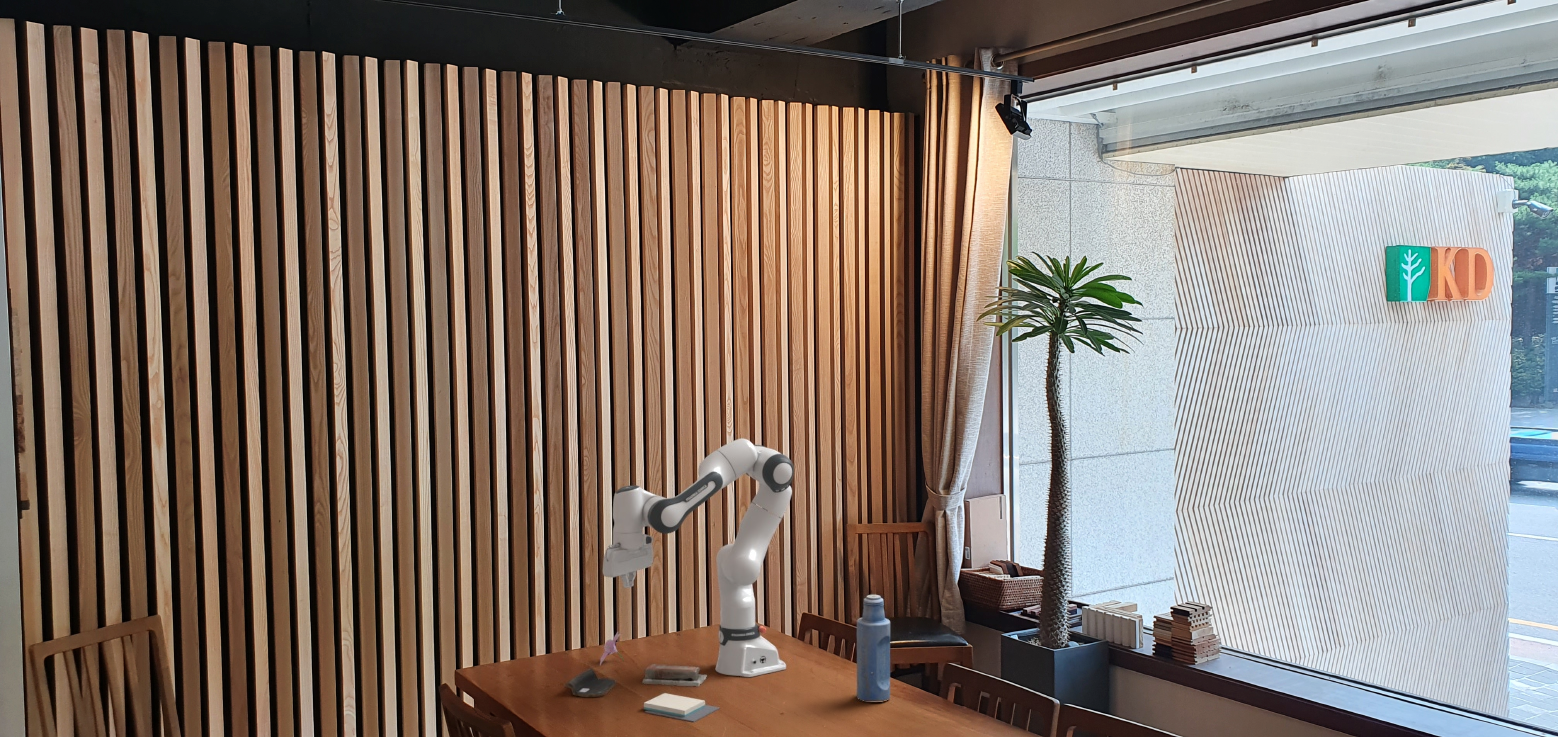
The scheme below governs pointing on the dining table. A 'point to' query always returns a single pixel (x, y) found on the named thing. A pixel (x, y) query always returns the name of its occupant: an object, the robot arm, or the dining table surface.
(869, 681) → the bottle
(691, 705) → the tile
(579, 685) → the pottery fragment
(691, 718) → the mat
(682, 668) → the packaged product
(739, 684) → the dining table surface
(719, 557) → the robot arm
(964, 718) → the dining table surface
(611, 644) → the lily
